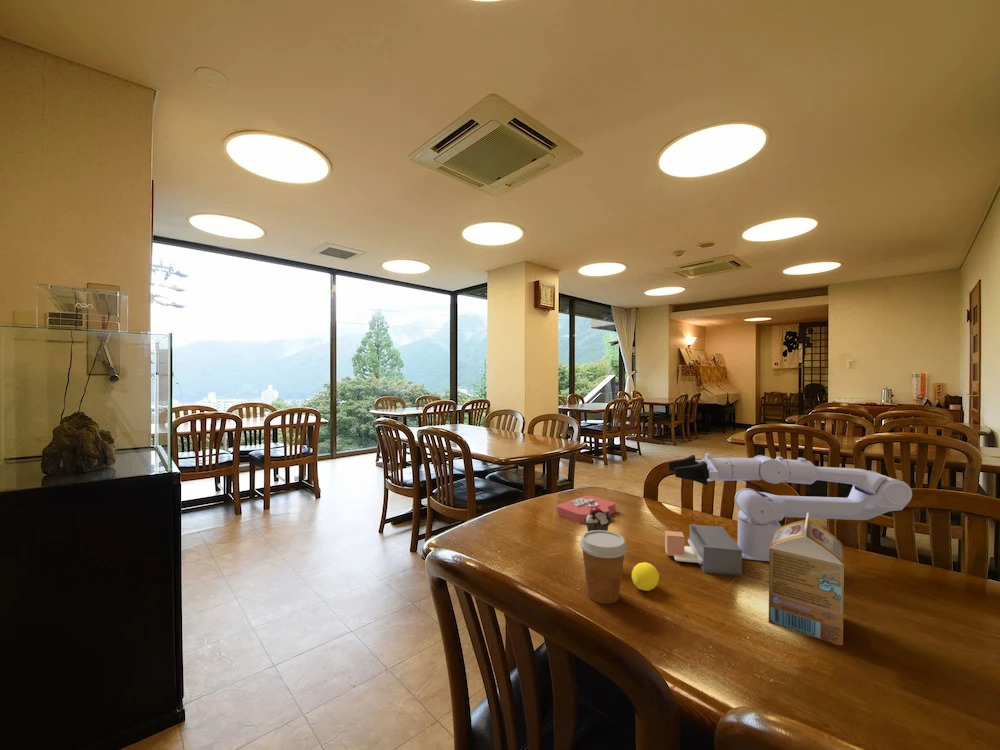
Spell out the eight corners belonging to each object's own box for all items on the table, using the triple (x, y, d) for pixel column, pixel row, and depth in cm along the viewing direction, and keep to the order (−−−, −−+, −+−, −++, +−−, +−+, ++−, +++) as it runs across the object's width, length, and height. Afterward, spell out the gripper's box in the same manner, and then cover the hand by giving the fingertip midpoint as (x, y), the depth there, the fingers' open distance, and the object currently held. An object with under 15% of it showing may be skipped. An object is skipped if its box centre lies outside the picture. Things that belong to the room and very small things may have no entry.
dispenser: (722, 549, 106) (722, 526, 106) (741, 576, 92) (741, 550, 92) (687, 546, 108) (687, 524, 108) (700, 572, 94) (700, 546, 94)
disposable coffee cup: (621, 584, 89) (621, 530, 89) (631, 610, 79) (631, 549, 79) (577, 582, 90) (577, 528, 90) (582, 607, 80) (582, 547, 80)
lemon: (649, 601, 83) (647, 576, 83) (626, 590, 87) (624, 567, 87) (666, 585, 88) (664, 561, 87) (643, 575, 92) (641, 553, 91)
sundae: (580, 564, 98) (580, 502, 98) (587, 553, 104) (587, 495, 104) (607, 570, 95) (607, 507, 95) (613, 558, 101) (614, 498, 101)
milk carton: (774, 597, 84) (775, 506, 83) (841, 617, 77) (842, 518, 77) (768, 622, 75) (769, 521, 75) (842, 647, 69) (844, 536, 68)
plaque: (591, 516, 121) (553, 503, 132) (591, 529, 121) (554, 515, 132) (625, 503, 132) (588, 493, 143) (625, 515, 132) (588, 503, 143)
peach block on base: (719, 551, 103) (719, 531, 103) (730, 565, 95) (730, 544, 95) (663, 545, 106) (663, 527, 106) (668, 559, 98) (669, 539, 98)
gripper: (717, 448, 111) (665, 449, 114) (737, 458, 97) (677, 459, 100) (719, 474, 111) (667, 474, 114) (739, 488, 97) (678, 488, 100)
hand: (671, 469), depth 107 cm, fingers open, 7 cm apart
